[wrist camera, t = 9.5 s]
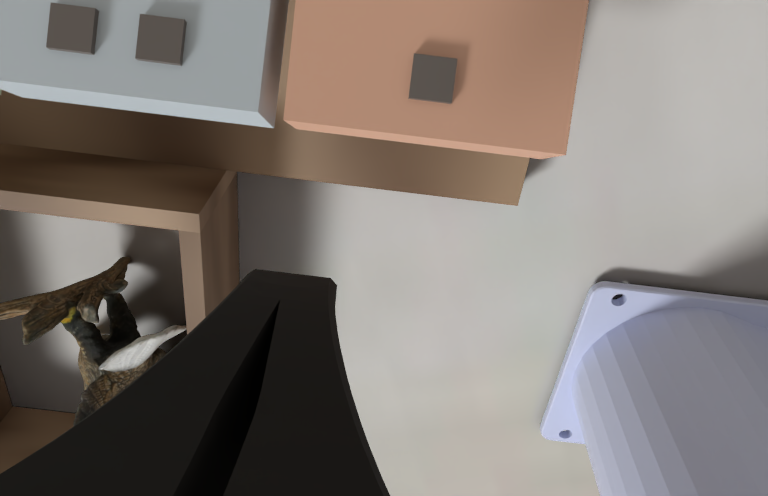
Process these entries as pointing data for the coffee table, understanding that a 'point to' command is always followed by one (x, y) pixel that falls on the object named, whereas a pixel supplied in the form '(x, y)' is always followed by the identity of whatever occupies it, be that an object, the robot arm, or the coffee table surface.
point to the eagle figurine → (94, 333)
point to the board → (197, 190)
